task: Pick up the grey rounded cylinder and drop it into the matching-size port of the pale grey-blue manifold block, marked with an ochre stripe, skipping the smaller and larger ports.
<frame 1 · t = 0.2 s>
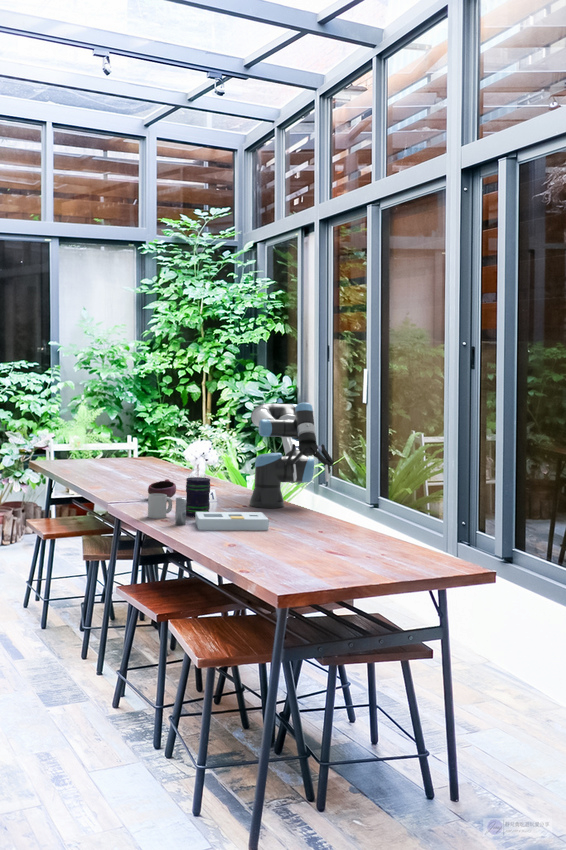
hand: (311, 479, 334), 16 cm above the table, tool tilted 35°, fingers open, 13 cm apart
manifold: (231, 525, 309), on the table
bowl: (160, 499, 369), on the table
grey rounded cylinder: (180, 524, 308), on the table
cup: (160, 517, 322), on the table
storage jar: (197, 515, 329), on the table
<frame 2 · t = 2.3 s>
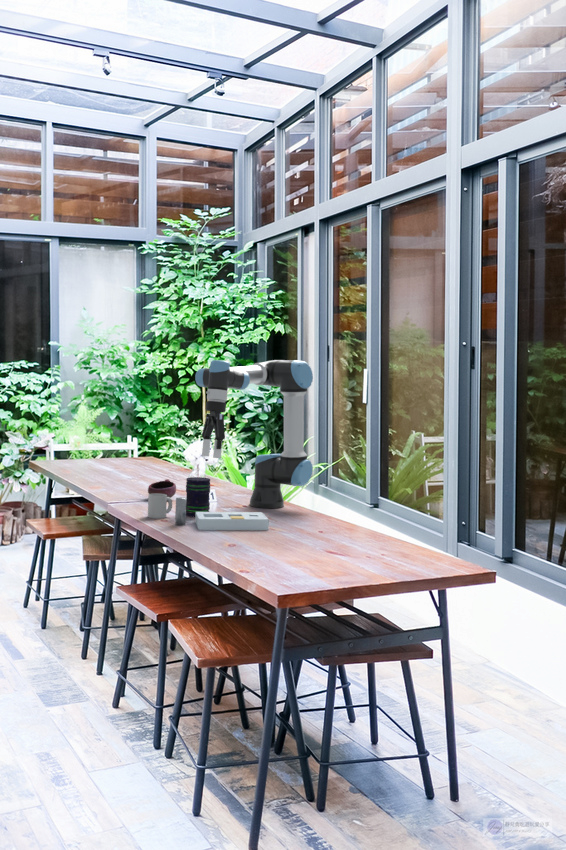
hand: (211, 457, 307), 26 cm above the table, tool pointing down, fingers open, 13 cm apart
nothing on the table moved.
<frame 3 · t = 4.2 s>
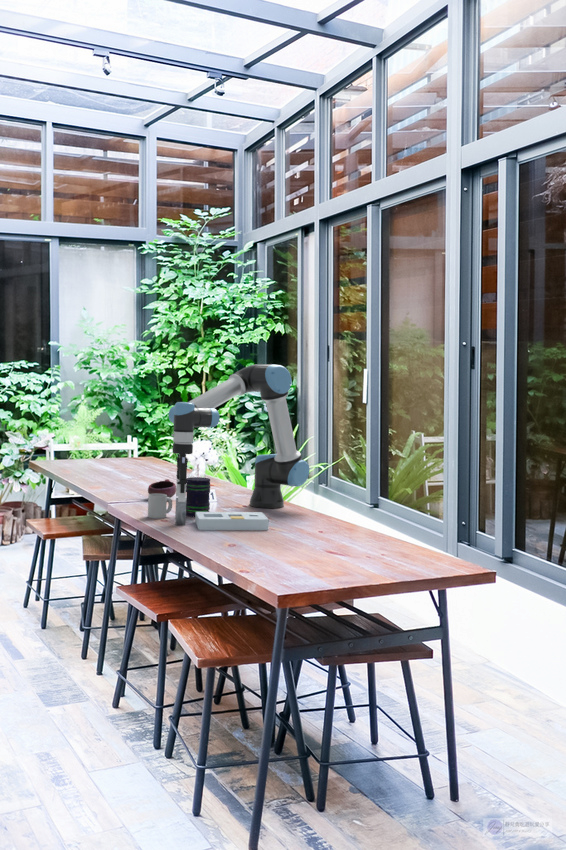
hand: (180, 499, 307), 10 cm above the table, tool pointing down, fingers open, 13 cm apart
nothing on the table moved.
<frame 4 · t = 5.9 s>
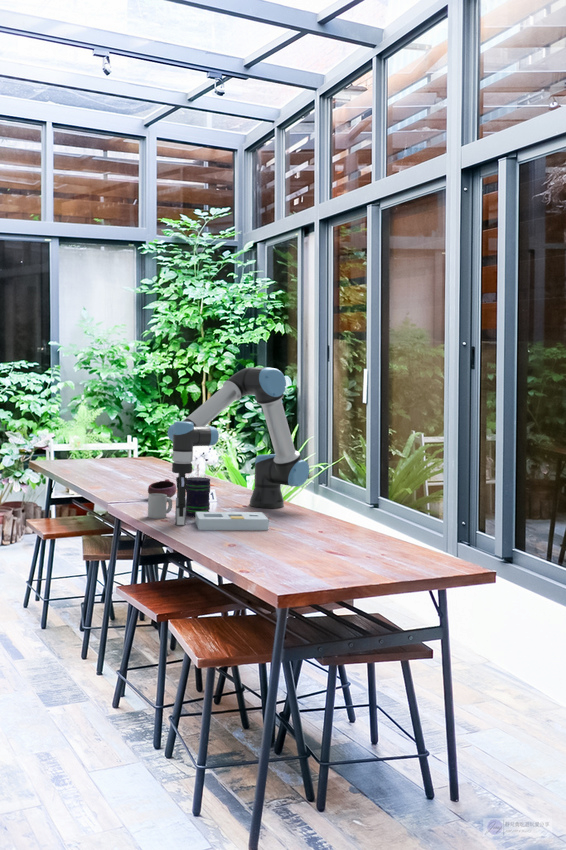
hand: (180, 523, 308), 0 cm above the table, tool pointing down, fingers closed on grey rounded cylinder, 4 cm apart
grey rounded cylinder: (180, 524, 308), on the table, touching gripper
everything else where it was.
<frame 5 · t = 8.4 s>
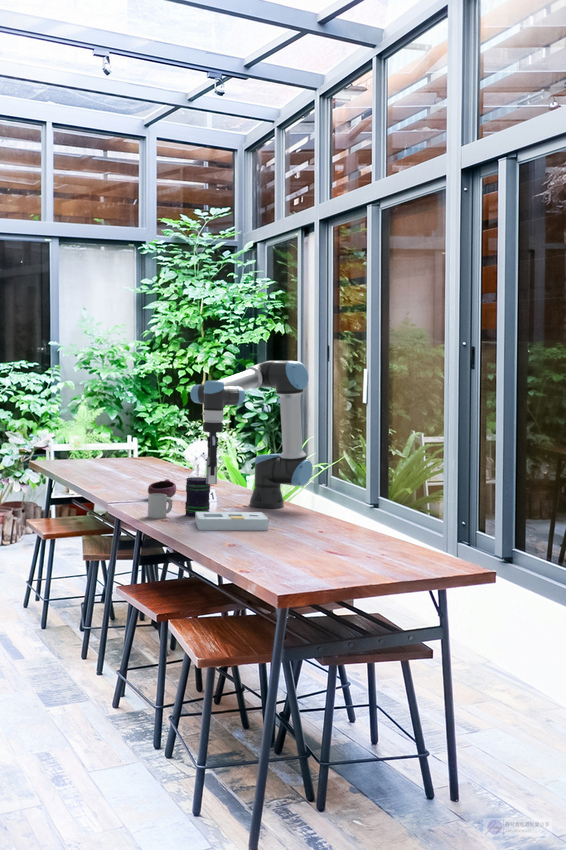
hand: (211, 482, 308), 16 cm above the table, tool pointing down, fingers closed on grey rounded cylinder, 4 cm apart
grey rounded cylinder: (211, 483, 308), point 16 cm above the table, touching gripper
everything else where it was.
when the fingers open (6 cm above the table, at t = 11.0 s): grey rounded cylinder drops 4 cm, resting in manifold.
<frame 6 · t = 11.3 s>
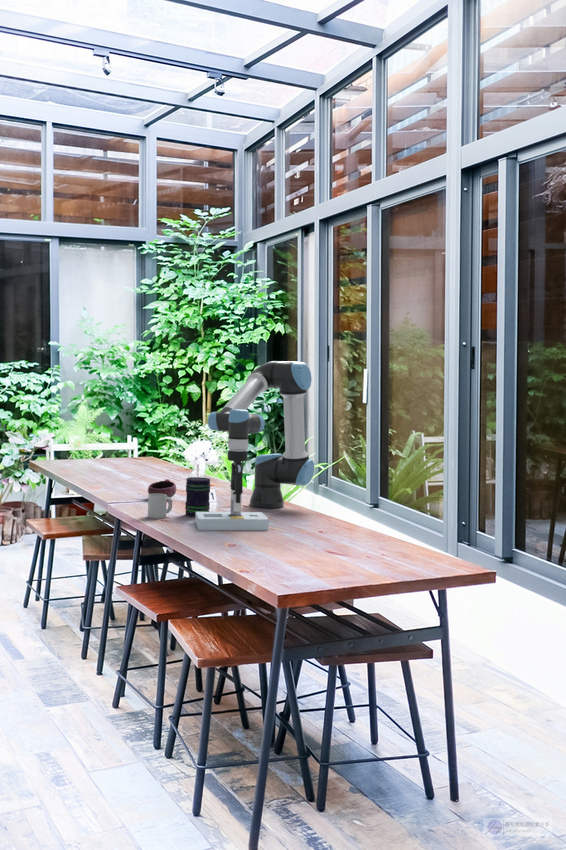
hand: (235, 509, 308), 6 cm above the table, tool pointing down, fingers open, 9 cm apart
grey rounded cylinder: (235, 526, 309), resting in manifold
everything else where it was.
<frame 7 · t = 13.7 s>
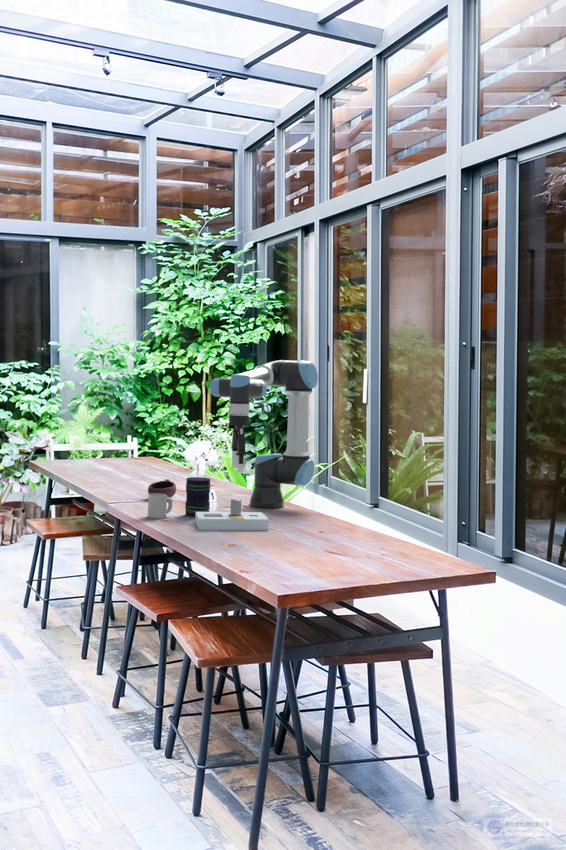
hand: (237, 470, 311), 21 cm above the table, tool pointing down, fingers open, 13 cm apart
nothing on the table moved.
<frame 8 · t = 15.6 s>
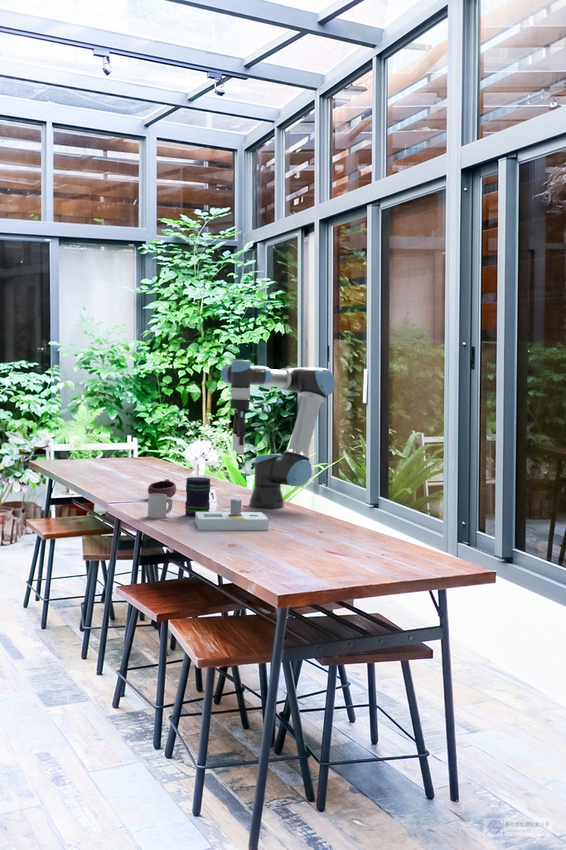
hand: (238, 452, 324), 27 cm above the table, tool pointing down, fingers open, 13 cm apart
nothing on the table moved.
at the end: grey rounded cylinder 0.1 cm from the target spot on the manifold, point 0.0 cm above the manifold's base; grey rounded cylinder tilted 0°; the gripper is holding nothing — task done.
